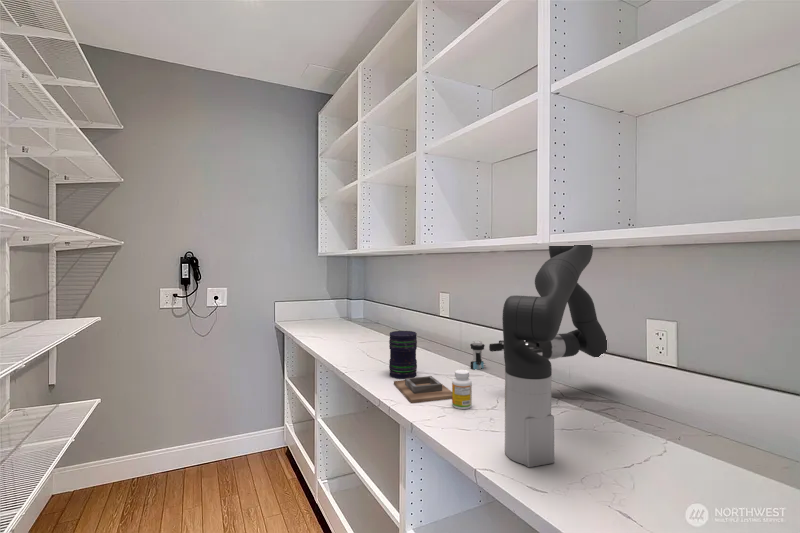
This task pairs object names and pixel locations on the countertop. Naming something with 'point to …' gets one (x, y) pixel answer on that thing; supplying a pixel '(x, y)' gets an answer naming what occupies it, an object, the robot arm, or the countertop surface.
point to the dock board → (423, 389)
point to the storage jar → (403, 354)
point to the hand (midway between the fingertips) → (497, 351)
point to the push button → (477, 355)
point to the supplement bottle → (462, 390)
